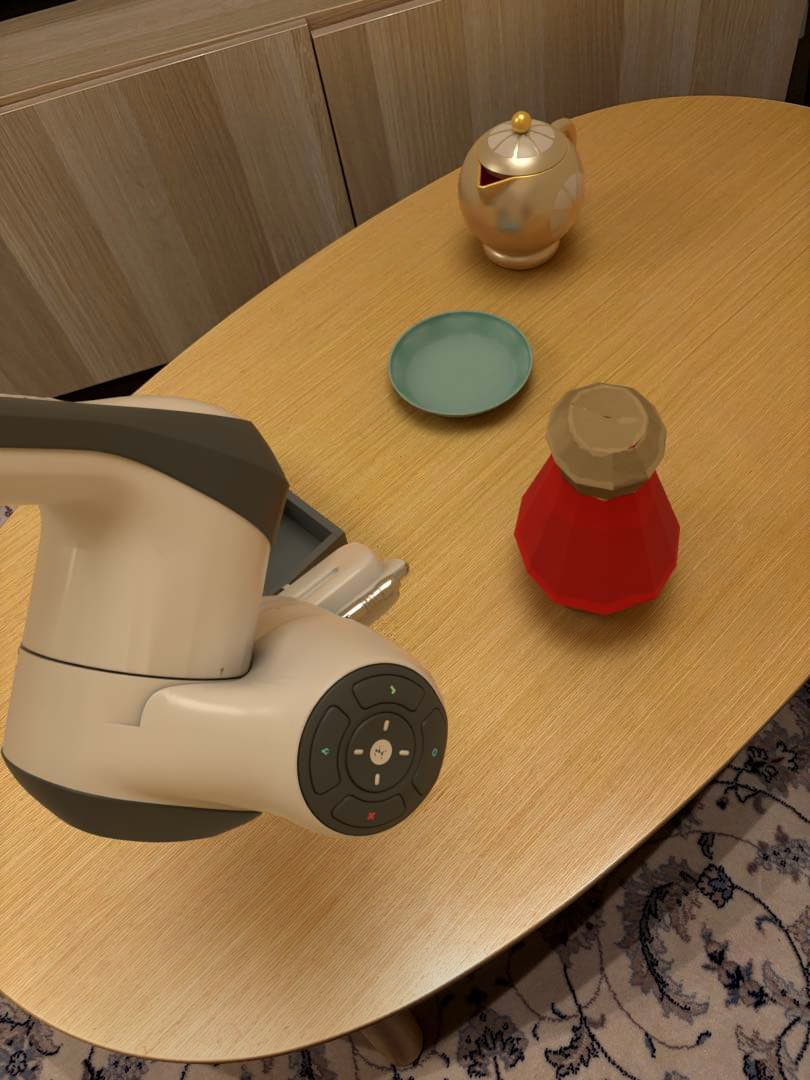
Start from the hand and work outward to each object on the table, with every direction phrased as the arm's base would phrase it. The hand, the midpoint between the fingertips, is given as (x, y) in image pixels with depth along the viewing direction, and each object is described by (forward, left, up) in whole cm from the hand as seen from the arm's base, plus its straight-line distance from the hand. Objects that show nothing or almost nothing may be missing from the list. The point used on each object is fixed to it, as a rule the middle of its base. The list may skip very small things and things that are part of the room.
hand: (231, 639), depth 61 cm
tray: (+6, +14, -13) cm, 20 cm away
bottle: (+28, -12, -13) cm, 33 cm away
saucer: (+38, +12, -13) cm, 42 cm away
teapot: (+59, +20, -13) cm, 63 cm away
